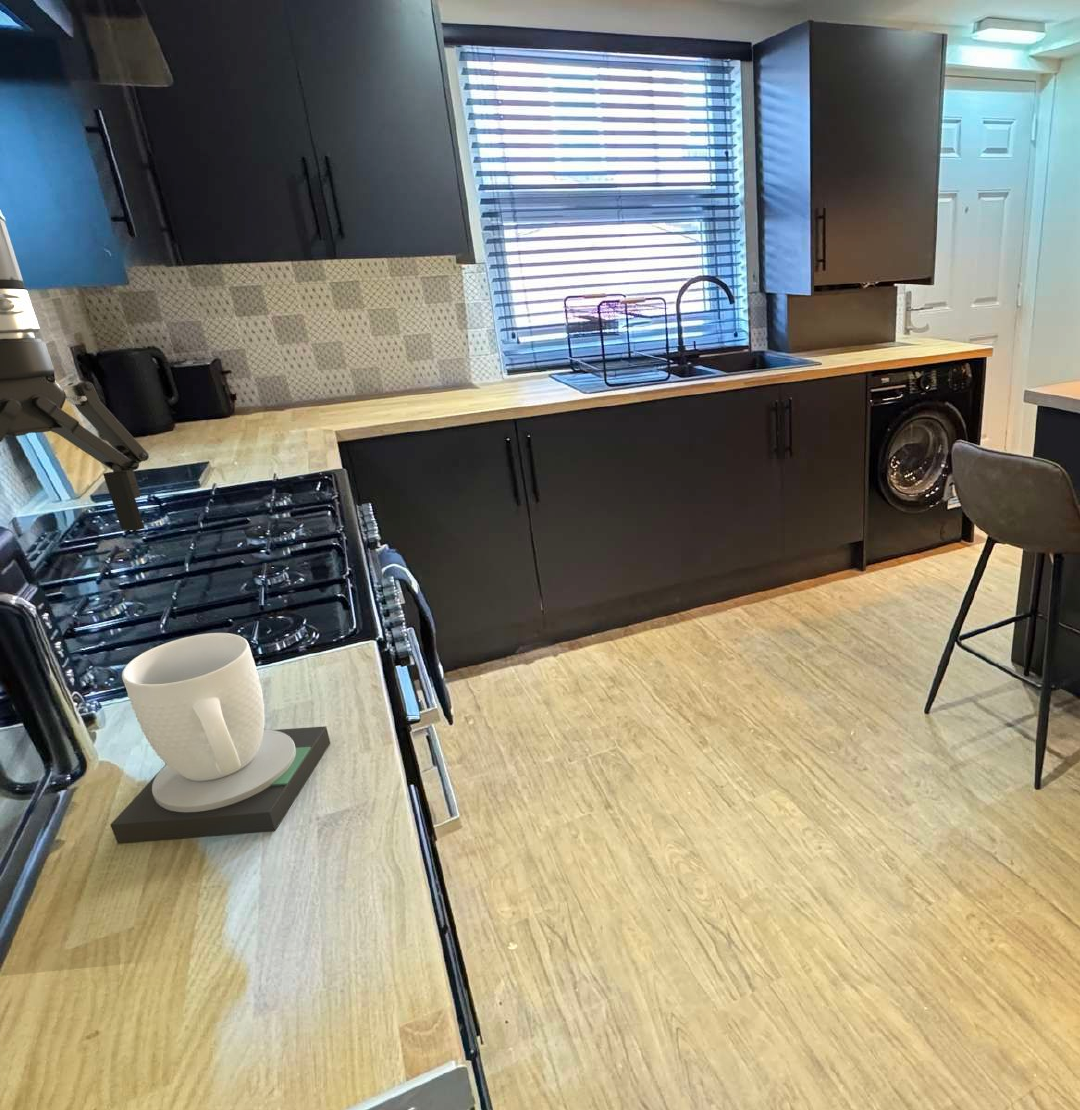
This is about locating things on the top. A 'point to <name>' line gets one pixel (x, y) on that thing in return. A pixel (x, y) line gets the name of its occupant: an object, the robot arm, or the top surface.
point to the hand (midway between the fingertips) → (67, 547)
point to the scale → (226, 793)
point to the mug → (199, 703)
